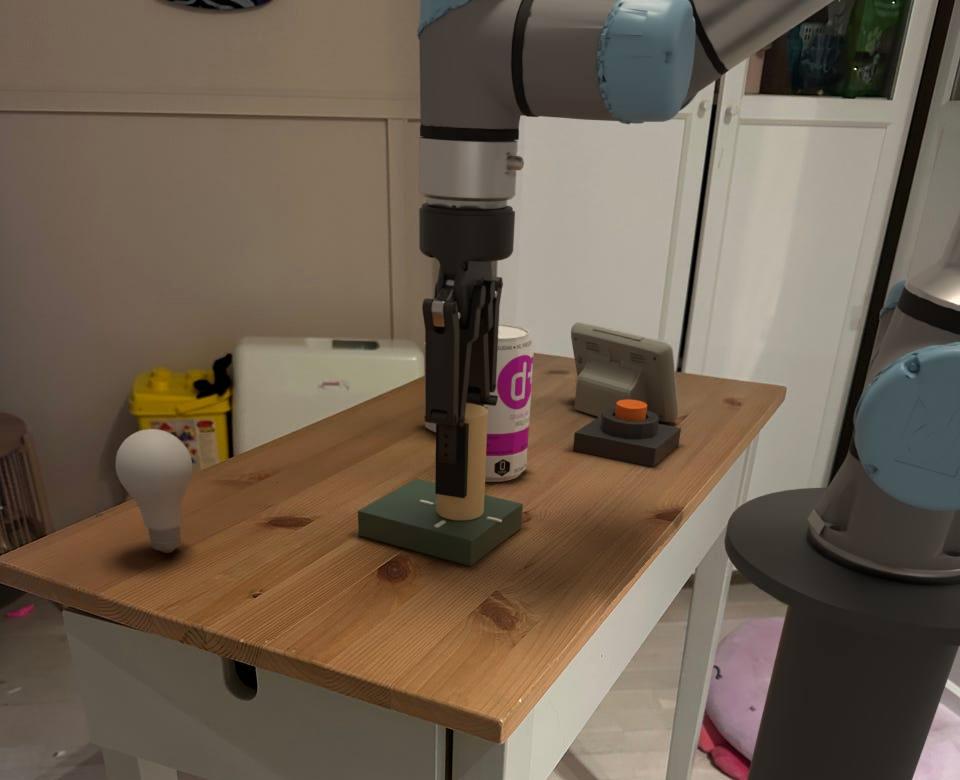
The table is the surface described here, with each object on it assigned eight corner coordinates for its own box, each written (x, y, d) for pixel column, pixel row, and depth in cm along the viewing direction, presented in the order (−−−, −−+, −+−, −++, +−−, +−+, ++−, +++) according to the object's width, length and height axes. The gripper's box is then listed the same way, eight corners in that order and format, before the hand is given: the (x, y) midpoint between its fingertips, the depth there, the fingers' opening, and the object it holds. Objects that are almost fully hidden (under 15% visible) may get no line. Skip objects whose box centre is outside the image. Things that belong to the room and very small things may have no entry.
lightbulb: (214, 556, 80) (198, 435, 75) (144, 573, 77) (122, 447, 72) (189, 532, 85) (172, 415, 79) (122, 546, 82) (100, 426, 76)
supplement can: (541, 472, 101) (551, 332, 94) (489, 490, 96) (495, 344, 89) (489, 453, 106) (494, 318, 99) (437, 469, 101) (438, 329, 93)
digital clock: (684, 425, 118) (696, 340, 112) (629, 435, 114) (640, 347, 108) (605, 393, 130) (613, 315, 124) (553, 401, 125) (559, 320, 120)
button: (649, 417, 108) (651, 402, 107) (639, 425, 106) (640, 410, 105) (621, 412, 110) (622, 397, 109) (609, 419, 107) (611, 404, 106)
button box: (678, 445, 111) (683, 413, 109) (653, 467, 104) (658, 432, 102) (601, 430, 115) (605, 399, 113) (572, 450, 108) (575, 417, 106)
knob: (446, 499, 87) (447, 396, 82) (490, 506, 86) (494, 402, 81) (429, 516, 83) (429, 409, 78) (474, 523, 82) (478, 416, 77)
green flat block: (524, 528, 88) (525, 502, 87) (473, 567, 80) (474, 539, 79) (415, 501, 93) (415, 476, 92) (358, 535, 85) (357, 509, 84)
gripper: (478, 216, 63) (468, 527, 75) (542, 196, 78) (526, 460, 90) (377, 208, 65) (384, 513, 77) (459, 190, 80) (453, 449, 91)
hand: (460, 484), depth 83 cm, fingers closed on knob, 4 cm apart
